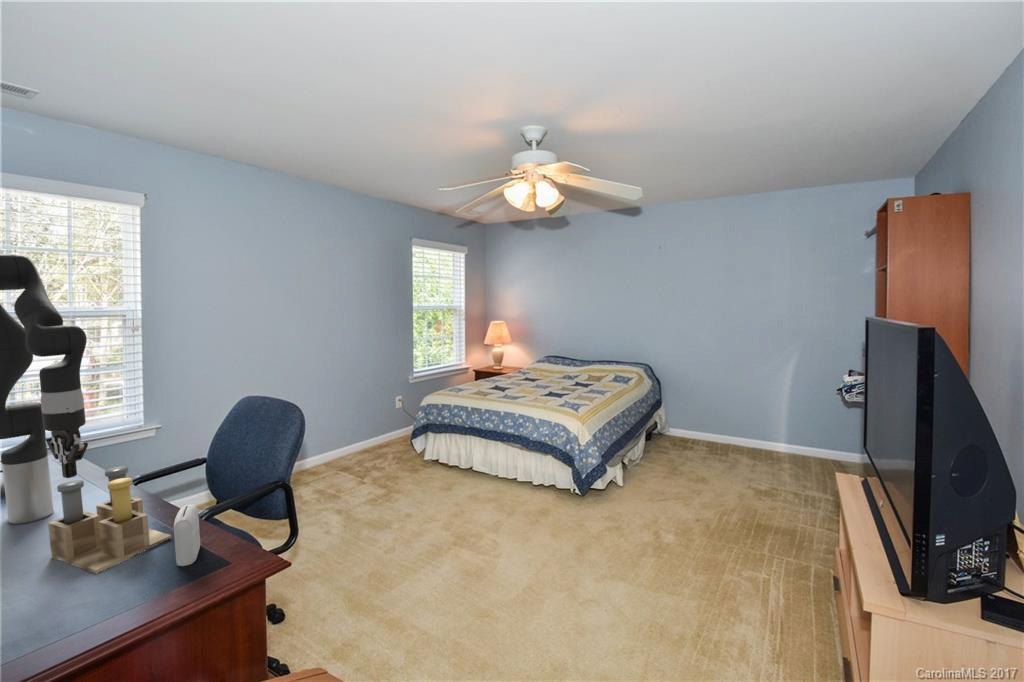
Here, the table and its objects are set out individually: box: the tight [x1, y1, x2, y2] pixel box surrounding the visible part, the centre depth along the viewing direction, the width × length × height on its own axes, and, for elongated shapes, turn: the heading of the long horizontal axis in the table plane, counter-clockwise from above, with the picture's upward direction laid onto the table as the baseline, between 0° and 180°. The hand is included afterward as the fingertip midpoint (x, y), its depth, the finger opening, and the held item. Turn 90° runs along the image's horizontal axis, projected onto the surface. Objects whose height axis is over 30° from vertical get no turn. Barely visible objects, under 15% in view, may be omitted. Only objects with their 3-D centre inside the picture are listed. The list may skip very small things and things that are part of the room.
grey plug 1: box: [56, 479, 85, 525], centre depth 118 cm, size 5×5×10 cm
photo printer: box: [173, 503, 201, 567], centre depth 118 cm, size 10×4×12 cm, turn 26°
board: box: [47, 496, 172, 575], centre depth 122 cm, size 18×17×9 cm
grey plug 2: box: [104, 465, 129, 507], centre depth 127 cm, size 5×5×10 cm
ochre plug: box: [106, 477, 134, 524], centre depth 119 cm, size 5×5×10 cm
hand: (70, 476), depth 117 cm, fingers closed
